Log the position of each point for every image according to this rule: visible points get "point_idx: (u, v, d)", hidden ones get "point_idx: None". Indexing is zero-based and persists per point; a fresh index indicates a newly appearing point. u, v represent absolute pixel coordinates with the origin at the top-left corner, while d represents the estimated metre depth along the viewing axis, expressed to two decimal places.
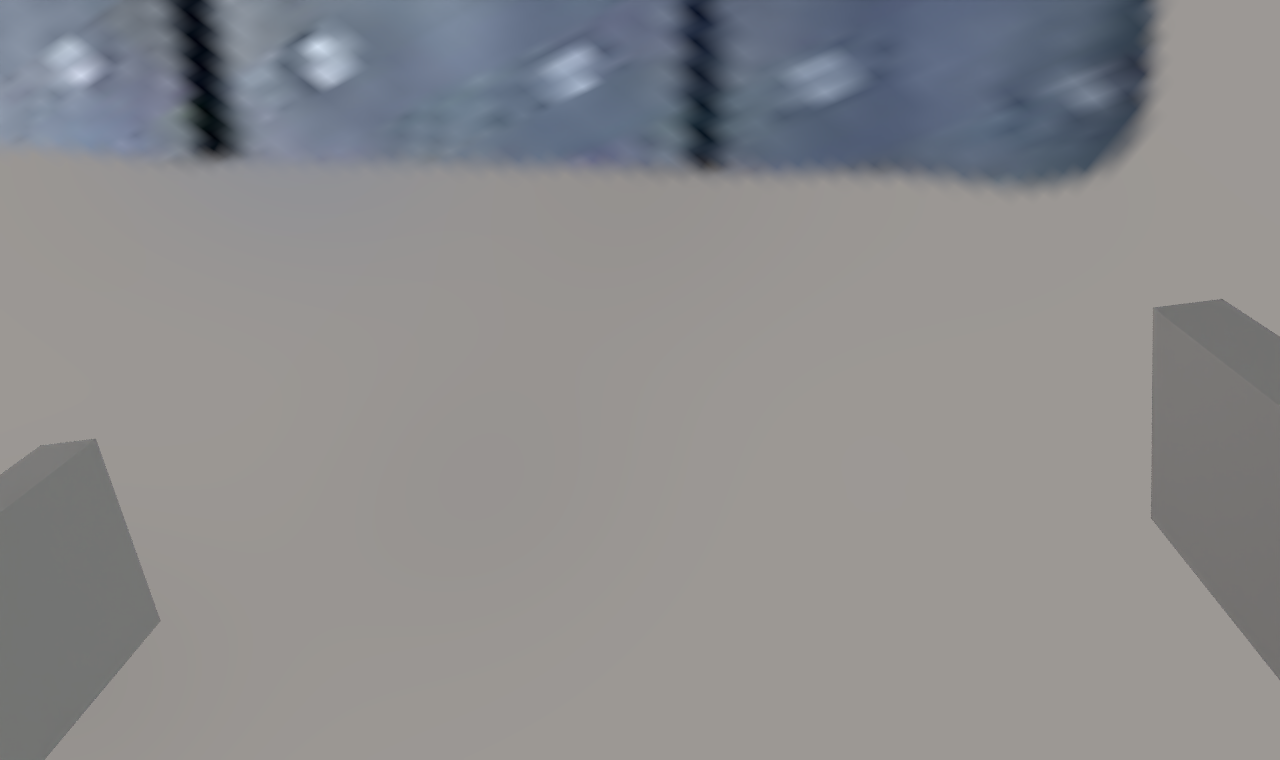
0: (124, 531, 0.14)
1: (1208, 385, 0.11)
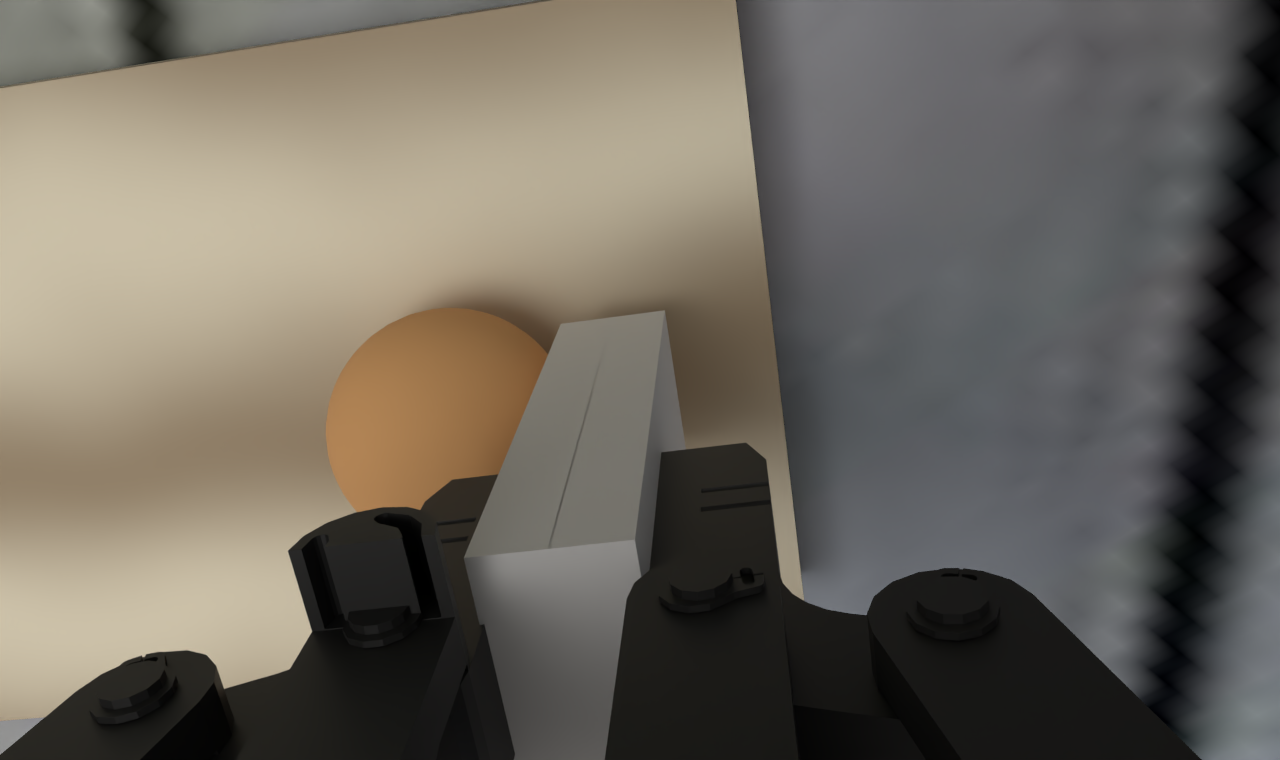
0: None
1: None
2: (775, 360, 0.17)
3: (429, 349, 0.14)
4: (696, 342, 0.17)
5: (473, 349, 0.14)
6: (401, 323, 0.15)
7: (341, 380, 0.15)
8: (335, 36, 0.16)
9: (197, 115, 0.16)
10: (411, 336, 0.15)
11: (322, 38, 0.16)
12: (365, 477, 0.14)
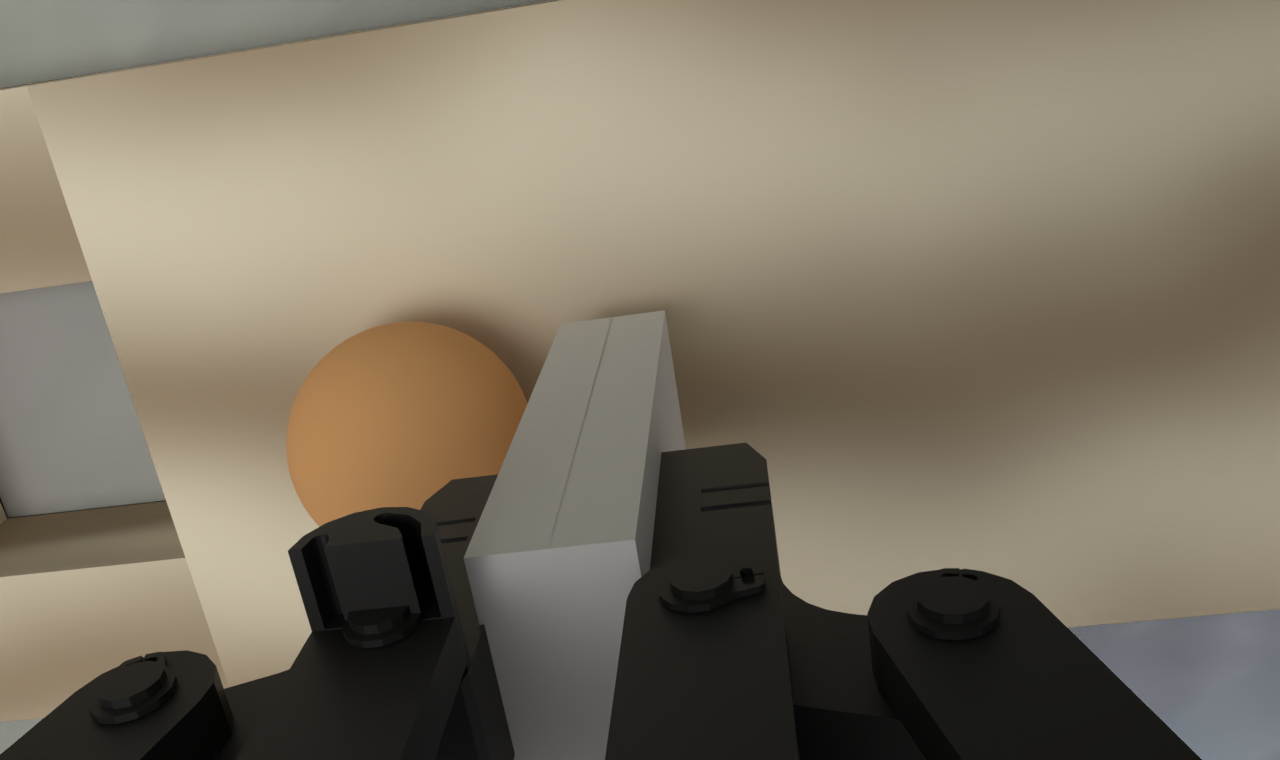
0: None
1: None
2: None
3: (448, 335, 0.15)
4: (1243, 276, 0.16)
5: (459, 331, 0.16)
6: (383, 337, 0.15)
7: (388, 399, 0.14)
8: None
9: (742, 32, 0.15)
10: (419, 335, 0.15)
11: None
12: (482, 459, 0.15)
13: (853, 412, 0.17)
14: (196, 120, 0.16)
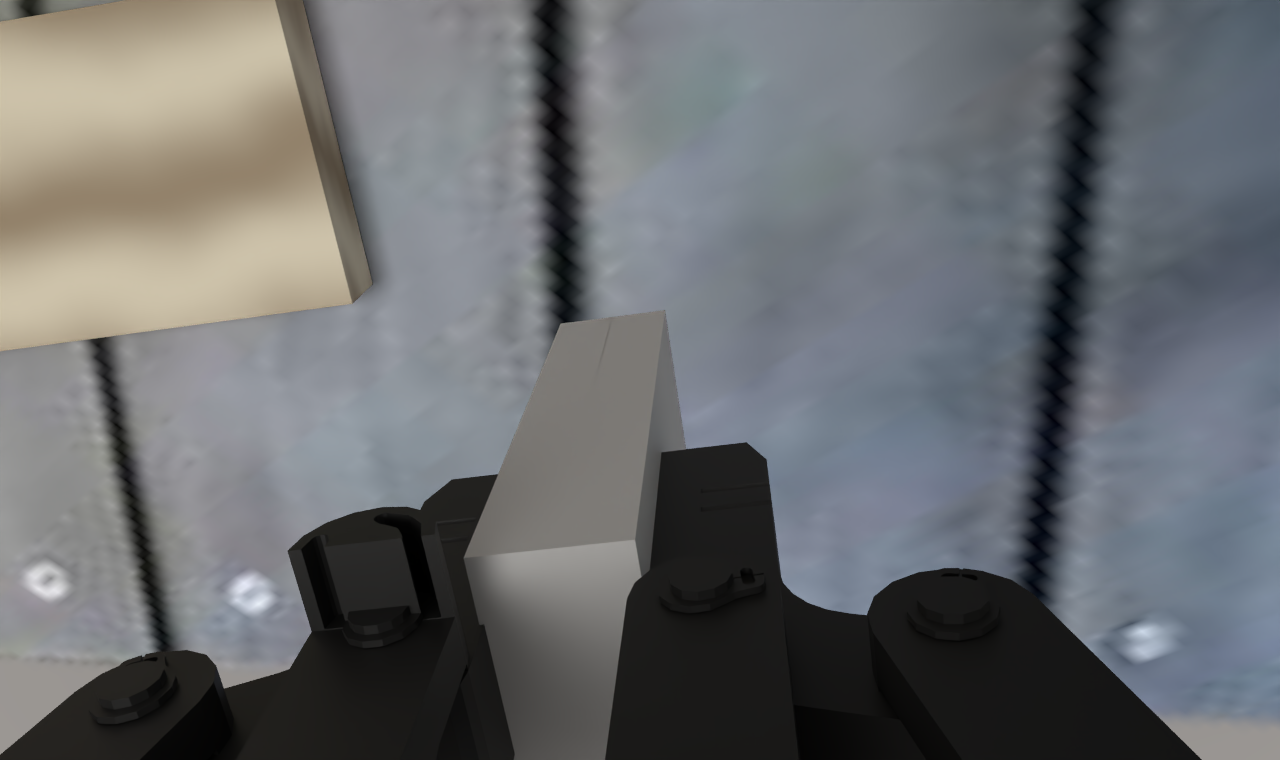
0: None
1: None
2: (313, 153, 0.37)
3: None
4: (277, 145, 0.37)
5: None
6: None
7: None
8: (103, 4, 0.36)
9: (44, 40, 0.36)
10: None
11: (97, 5, 0.36)
12: None
13: (130, 211, 0.38)
14: None
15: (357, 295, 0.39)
